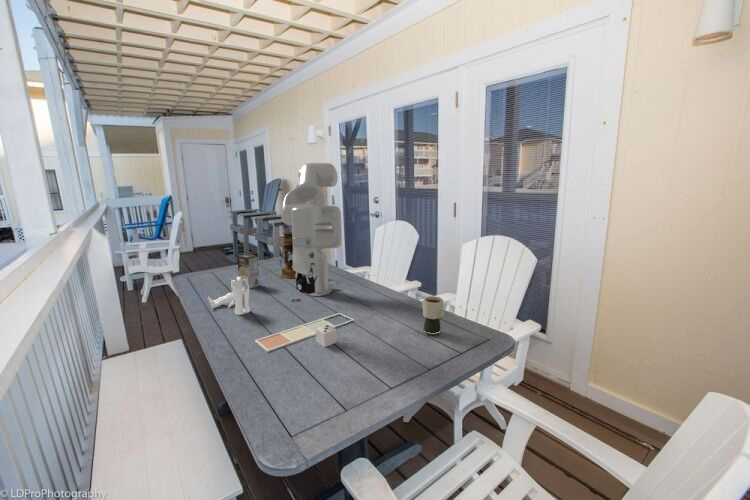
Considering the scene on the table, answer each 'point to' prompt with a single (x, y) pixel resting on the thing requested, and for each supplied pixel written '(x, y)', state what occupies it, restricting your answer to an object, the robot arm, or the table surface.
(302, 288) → the billiard ball
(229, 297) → the toy creature
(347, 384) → the table surface
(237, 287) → the beer glass
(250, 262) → the coffee box
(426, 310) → the character mug
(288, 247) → the lantern
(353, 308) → the table surface
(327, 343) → the die
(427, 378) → the table surface
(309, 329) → the board
